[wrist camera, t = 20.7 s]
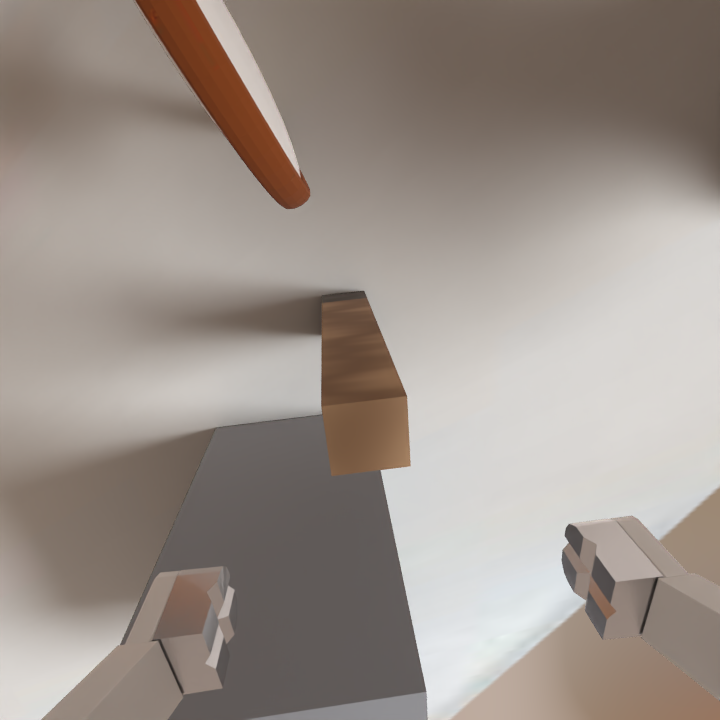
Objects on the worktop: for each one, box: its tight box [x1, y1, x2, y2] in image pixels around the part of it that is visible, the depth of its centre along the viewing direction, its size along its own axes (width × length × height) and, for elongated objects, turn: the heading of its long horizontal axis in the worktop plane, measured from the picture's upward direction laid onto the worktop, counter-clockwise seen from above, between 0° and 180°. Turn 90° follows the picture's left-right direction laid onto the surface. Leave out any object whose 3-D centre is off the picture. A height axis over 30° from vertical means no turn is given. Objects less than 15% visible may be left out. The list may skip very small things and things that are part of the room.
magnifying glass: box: [134, 0, 310, 209], centre depth 16 cm, size 9×2×20 cm, turn 29°
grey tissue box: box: [120, 415, 428, 720], centre depth 27 cm, size 12×18×20 cm, turn 5°
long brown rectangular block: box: [321, 291, 410, 476], centre depth 22 cm, size 3×3×16 cm
